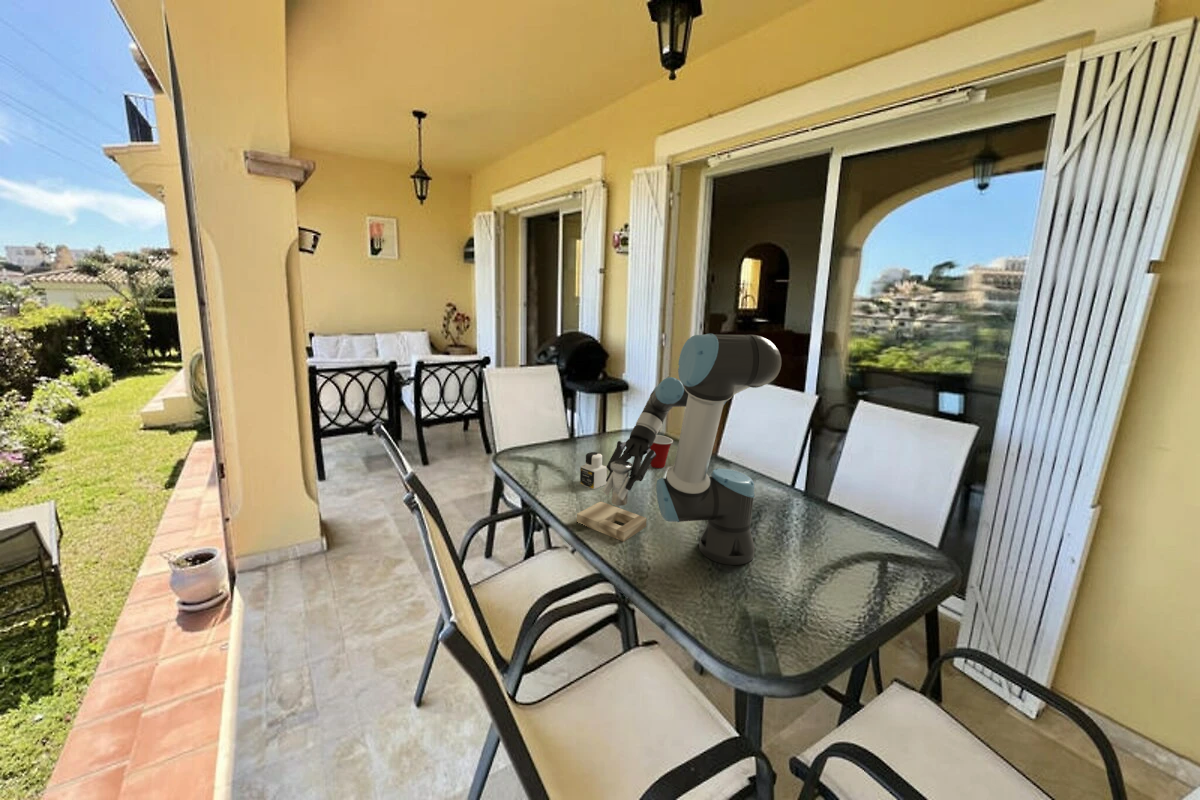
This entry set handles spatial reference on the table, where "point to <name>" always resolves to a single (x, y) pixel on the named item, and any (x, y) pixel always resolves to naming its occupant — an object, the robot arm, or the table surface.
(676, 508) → the robot arm
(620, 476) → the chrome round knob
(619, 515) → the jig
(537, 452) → the table surface
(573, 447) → the table surface
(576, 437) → the table surface
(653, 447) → the plastic cup
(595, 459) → the medicine bottle
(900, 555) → the table surface
